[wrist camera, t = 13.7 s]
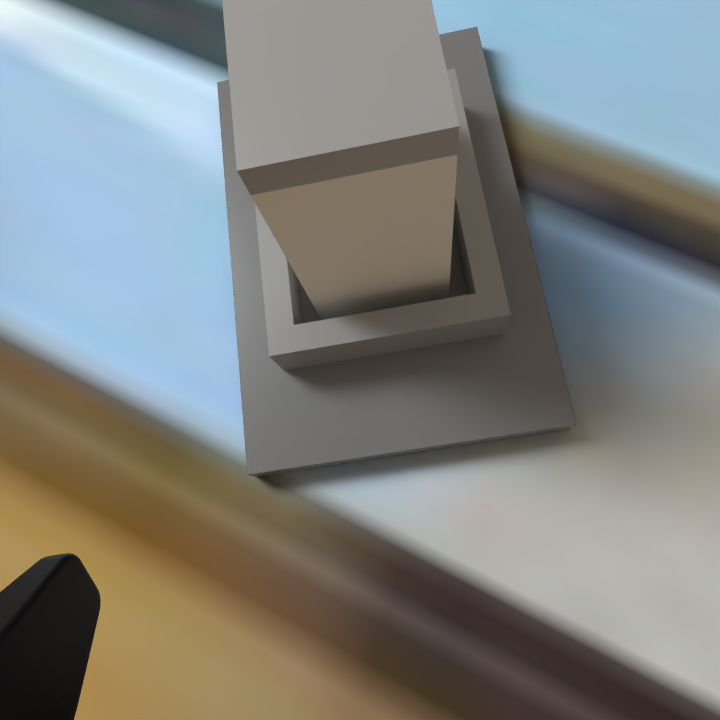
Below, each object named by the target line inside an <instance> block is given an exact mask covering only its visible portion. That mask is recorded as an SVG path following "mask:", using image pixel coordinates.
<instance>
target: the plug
mask: <svg viewBox="0 0 720 720" xmlns="http://www.w3.org/2000/svg"><path fill="white" fill-rule="evenodd" d="M222 2H223V14H224V25H225V37H226V49H227V61H228V73H229V84H230V96H231V108H232V120H233V132H234V143H235V155H236V167H237V172H238V174H239V175H240V177H241V179H242V181H243V183H244V184H245V186H246V188H247V190H248V191H249V193H250V195H251V197H252V198H253V200H254V202H255V204H256V205H257V207H258V209H259V211H260V212H261V214H262V216H263V218H264V219H265V221H266V223H267V225H268V227H269V228H270V230H271V232H272V234H273V235H274V237H275V239H276V241H277V242H278V244H279V246H280V248H281V249H282V251H283V253H284V255H285V256H286V258H287V260H288V262H289V263H290V265H291V267H292V269H293V271H294V272H295V274H296V276H297V278H298V279H299V281H300V283H301V285H302V286H303V288H304V290H305V292H306V293H307V295H308V297H309V299H310V300H311V302H312V304H313V306H314V307H315V309H316V311H317V313H318V315H319V316H320V318H321V320H325V319H331V318H337V317H342V316H348V315H354V314H360V313H365V312H371V311H377V310H382V309H388V308H394V307H400V306H405V305H411V304H417V303H422V302H428V301H434V300H440V299H445V298H449V285H450V269H451V253H452V236H453V220H454V204H455V187H456V171H457V155H458V138H459V123H458V118H457V114H456V109H455V105H454V100H453V96H452V92H451V87H450V83H449V78H448V74H447V69H446V65H445V60H444V56H443V51H442V47H441V42H440V38H439V33H438V29H437V24H436V20H435V15H434V11H433V6H432V2H431V0H222Z"/></svg>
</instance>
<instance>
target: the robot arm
mask: <svg viewBox="0 0 720 720" xmlns="http://www.w3.org/2000/svg"><path fill="white" fill-rule="evenodd" d="M99 611H100V594H99V591H98V589H97V587H96V585H95V584H94V582H93V580H92V579H91V577H90V575H89V574H88V572H87V570H86V569H85V567H84V565H83V564H82V562H81V560H80V559H79V558H78V557H77V556H76V555H74V554H70V553H67V554H60V555H53V556H47V557H44V558H42V559H40V560H39V561H38V562H36V563H35V564H34V565H33V566H32V567H30V568H29V569H28V570H27V571H26V572H24V573H23V574H22V575H21V576H19V577H18V578H17V579H16V580H15V581H13V582H12V583H11V584H10V585H8V586H7V587H6V588H5V589H4V590H2V591H1V592H0V720H74V717H75V713H76V710H77V706H78V702H79V698H80V694H81V689H82V685H83V680H84V676H85V672H86V667H87V663H88V659H89V654H90V650H91V646H92V641H93V637H94V633H95V628H96V624H97V620H98V615H99Z"/></svg>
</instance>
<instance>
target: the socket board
mask: <svg viewBox="0 0 720 720" xmlns="http://www.w3.org/2000/svg"><path fill="white" fill-rule="evenodd" d="M439 38H440V42H441V47H442V51H443V56H444V60H445V65H446V69H447V74H448V78H449V83H450V87H451V92H452V96H453V100H454V105H455V109H456V114H457V118H458V123H459V138H458V155H457V171H456V187H455V204H454V220H453V236H452V253H451V269H450V285H449V298H445V299H440V300H434V301H428V302H422V303H417V304H411V305H405V306H400V307H394V308H388V309H382V310H377V311H371V312H365V313H360V314H354V315H348V316H342V317H337V318H331V319H325V320H321V318H320V316H319V315H318V313H317V311H316V309H315V307H314V306H313V304H312V302H311V300H310V299H309V297H308V295H307V293H306V292H305V290H304V288H303V286H302V285H301V283H300V281H299V279H298V278H297V276H296V274H295V272H294V271H293V269H292V267H291V265H290V263H289V262H288V260H287V258H286V256H285V255H284V253H283V251H282V249H281V248H280V246H279V244H278V242H277V241H276V239H275V237H274V235H273V234H272V232H271V230H270V228H269V227H268V225H267V223H266V221H265V219H264V218H263V216H262V214H261V212H260V211H259V209H258V207H257V205H256V204H255V202H254V200H253V198H252V197H251V195H250V193H249V191H248V190H247V188H246V186H245V184H244V183H243V181H242V179H241V177H240V175H239V174H238V172H237V167H236V155H235V143H234V132H233V120H232V108H231V96H230V84H229V80H227V81H222V82H217V85H218V98H219V111H220V124H221V137H222V150H223V163H224V176H225V189H226V202H227V215H228V228H229V241H230V254H231V267H232V280H233V293H234V306H235V319H236V332H237V345H238V358H239V371H240V384H241V397H242V410H243V423H244V436H245V449H246V462H247V475H251V476H255V477H257V476H263V475H270V474H276V473H283V472H289V471H296V470H302V469H309V468H316V467H322V466H329V465H335V464H342V463H348V462H355V461H361V460H368V459H375V458H381V457H388V456H394V455H401V454H407V453H414V452H421V451H427V450H434V449H440V448H447V447H453V446H460V445H466V444H473V443H480V442H486V441H493V440H499V439H506V438H512V437H519V436H525V435H532V434H539V433H545V432H552V431H558V430H565V429H570V428H571V427H573V426H574V425H576V422H575V418H574V414H573V410H572V406H571V402H570V398H569V394H568V390H567V386H566V382H565V378H564V374H563V370H562V366H561V362H560V358H559V354H558V350H557V346H556V342H555V338H554V334H553V330H552V326H551V322H550V318H549V314H548V310H547V306H546V302H545V298H544V294H543V290H542V286H541V282H540V278H539V274H538V270H537V266H536V262H535V258H534V254H533V250H532V246H531V242H530V238H529V234H528V230H527V225H526V221H525V217H524V213H523V209H522V205H521V201H520V197H519V193H518V189H517V185H516V181H515V177H514V173H513V169H512V165H511V161H510V157H509V153H508V149H507V145H506V141H505V137H504V133H503V129H502V125H501V121H500V117H499V113H498V109H497V105H496V101H495V97H494V93H493V89H492V85H491V81H490V77H489V73H488V69H487V65H486V61H485V57H484V53H483V49H482V45H481V41H480V37H479V33H478V29H477V27H474V28H469V29H464V30H460V31H455V32H450V33H446V34H441V35H439Z"/></svg>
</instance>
